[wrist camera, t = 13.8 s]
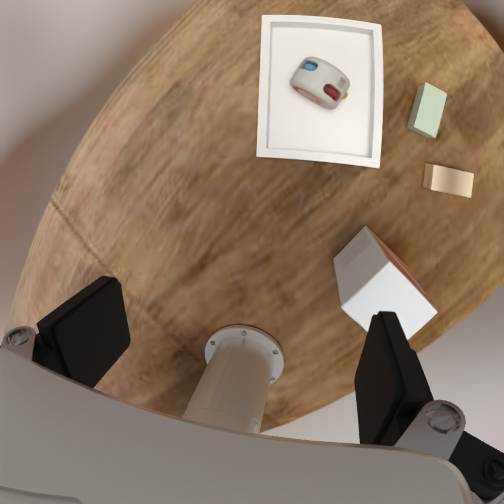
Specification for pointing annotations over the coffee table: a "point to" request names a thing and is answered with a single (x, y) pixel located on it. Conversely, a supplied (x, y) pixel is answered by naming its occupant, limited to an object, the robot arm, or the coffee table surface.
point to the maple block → (448, 180)
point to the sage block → (427, 110)
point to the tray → (309, 113)
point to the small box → (379, 284)
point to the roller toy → (320, 82)
